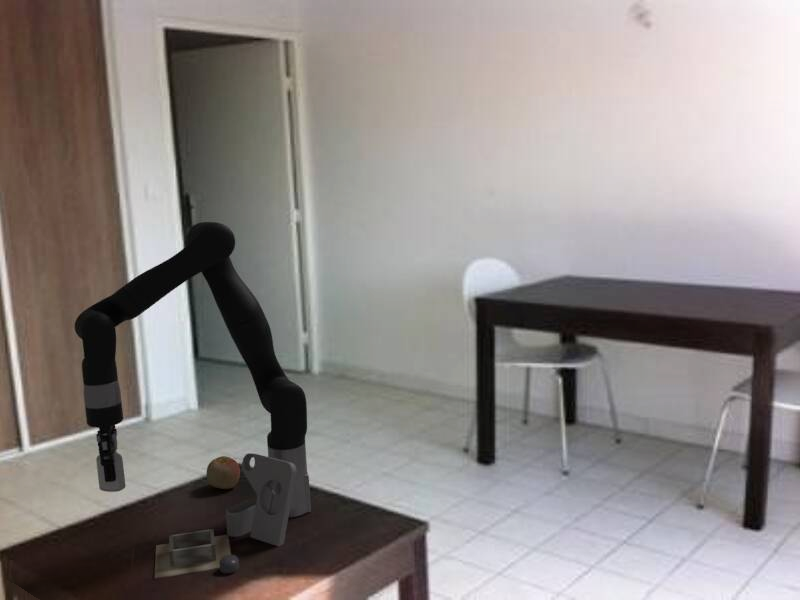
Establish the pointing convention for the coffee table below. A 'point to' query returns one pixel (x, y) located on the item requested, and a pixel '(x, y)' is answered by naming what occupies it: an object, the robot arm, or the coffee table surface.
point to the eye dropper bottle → (119, 471)
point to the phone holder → (264, 501)
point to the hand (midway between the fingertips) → (111, 476)
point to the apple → (223, 472)
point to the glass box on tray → (190, 553)
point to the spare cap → (229, 564)
